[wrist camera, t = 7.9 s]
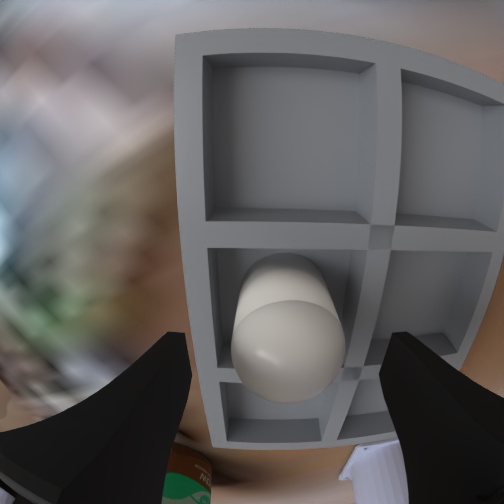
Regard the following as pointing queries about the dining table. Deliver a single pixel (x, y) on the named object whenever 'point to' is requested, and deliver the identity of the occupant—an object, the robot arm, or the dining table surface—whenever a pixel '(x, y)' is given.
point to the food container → (187, 477)
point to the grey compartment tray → (334, 209)
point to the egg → (286, 330)
